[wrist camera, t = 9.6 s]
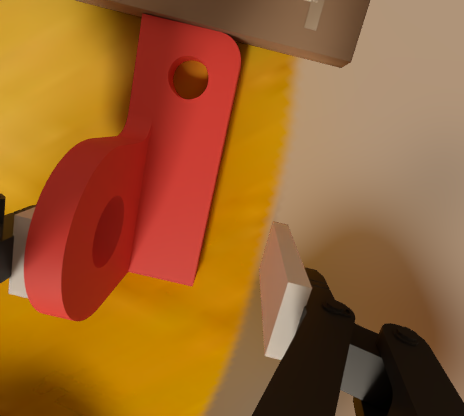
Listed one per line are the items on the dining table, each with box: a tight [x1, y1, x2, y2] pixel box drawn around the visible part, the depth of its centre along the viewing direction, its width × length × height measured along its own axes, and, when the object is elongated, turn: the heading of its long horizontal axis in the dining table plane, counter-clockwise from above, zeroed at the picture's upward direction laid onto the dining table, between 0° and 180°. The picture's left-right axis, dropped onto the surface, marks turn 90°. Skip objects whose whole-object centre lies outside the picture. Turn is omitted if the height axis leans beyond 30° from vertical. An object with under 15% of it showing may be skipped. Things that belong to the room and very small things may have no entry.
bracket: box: [24, 13, 241, 321], centre depth 13 cm, size 12×4×8 cm, turn 167°
